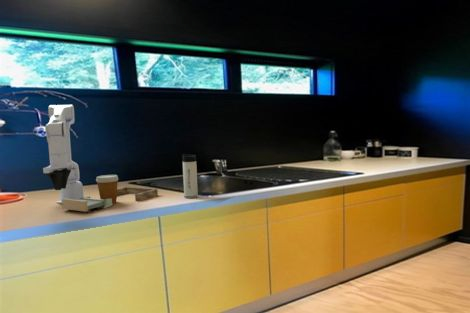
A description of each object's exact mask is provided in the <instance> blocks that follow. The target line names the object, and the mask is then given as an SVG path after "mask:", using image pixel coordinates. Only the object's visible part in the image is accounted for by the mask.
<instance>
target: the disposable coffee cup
mask: <svg viewBox="0 0 470 313" xmlns="http://www.w3.org/2000/svg"><path fill="white" fill-rule="evenodd" d="M95 181H96V183H97V189H98V193H99V199H103V200H105V199H109V198H112V205H113V204H116V203H117V196H118V195H117V189H118V182H119V177H118V175H117V174H105V175H99V176H96V179H95Z"/></svg>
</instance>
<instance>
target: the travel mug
mask: <svg viewBox="0 0 470 313" xmlns="http://www.w3.org/2000/svg"><path fill="white" fill-rule="evenodd" d="M197 168H198V167H197V155H196V154H189V153H188V154H187V153H182V175H183V176H182V177H183V197H184V199H195V197H196V198H198V197H197V196H199V194H198V193H199V192H198V170H197Z"/></svg>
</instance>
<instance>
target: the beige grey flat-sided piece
mask: <svg viewBox="0 0 470 313" xmlns="http://www.w3.org/2000/svg"><path fill="white" fill-rule="evenodd" d="M61 206H62V209H64V210H71V211H78V212H85V213H90V212H91V210H92V209H95V208H97V209H99V210H101V209H103V208H108V207H112V206H113V204H112V198H109V199H105V200H103V199H100V198H93V197H91V196H89V195H88V196H84V197H83V198H81V199H80V200H74V199H65V198H64V199H62V203H61Z"/></svg>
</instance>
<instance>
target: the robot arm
mask: <svg viewBox="0 0 470 313" xmlns="http://www.w3.org/2000/svg"><path fill="white" fill-rule="evenodd" d="M47 107H48V109H47V111H48V118H49V122H48V123H47V124H45V127H44V128H45V136H46V142H47V143H48V154H49V157H48V158H49V165H48V166H46V167H42V172H43V174H46V175H47V176H48V178H49V179H50V180H51V183H52V185H53V188H54V190H55V191H59V196H60V198H59V199H60V200H58V201H56V203H57V204H62V199H64V198H65V199H74V200H80V199H81V198H83V197H85V196H84V195H85V194H84V187H83V186H84V185H83V183H82V182H81V181H80V169H79V165H78V163H77V162H75V161H73V159H72V148H71V147H72V146H71V132H70V129H71V125H73V124H75V107H74V105H73V104H57V105H56V104H50V105H49V106H47Z"/></svg>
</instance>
